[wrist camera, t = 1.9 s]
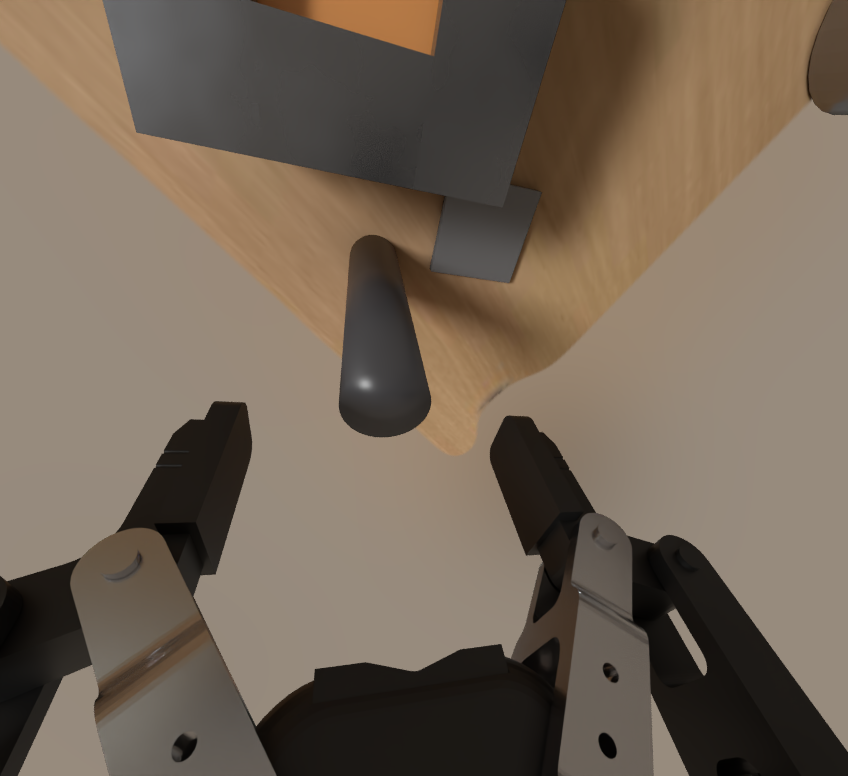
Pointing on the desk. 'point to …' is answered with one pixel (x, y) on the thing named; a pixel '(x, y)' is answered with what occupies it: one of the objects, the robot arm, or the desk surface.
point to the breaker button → (372, 18)
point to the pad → (483, 235)
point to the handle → (380, 347)
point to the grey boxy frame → (341, 88)
